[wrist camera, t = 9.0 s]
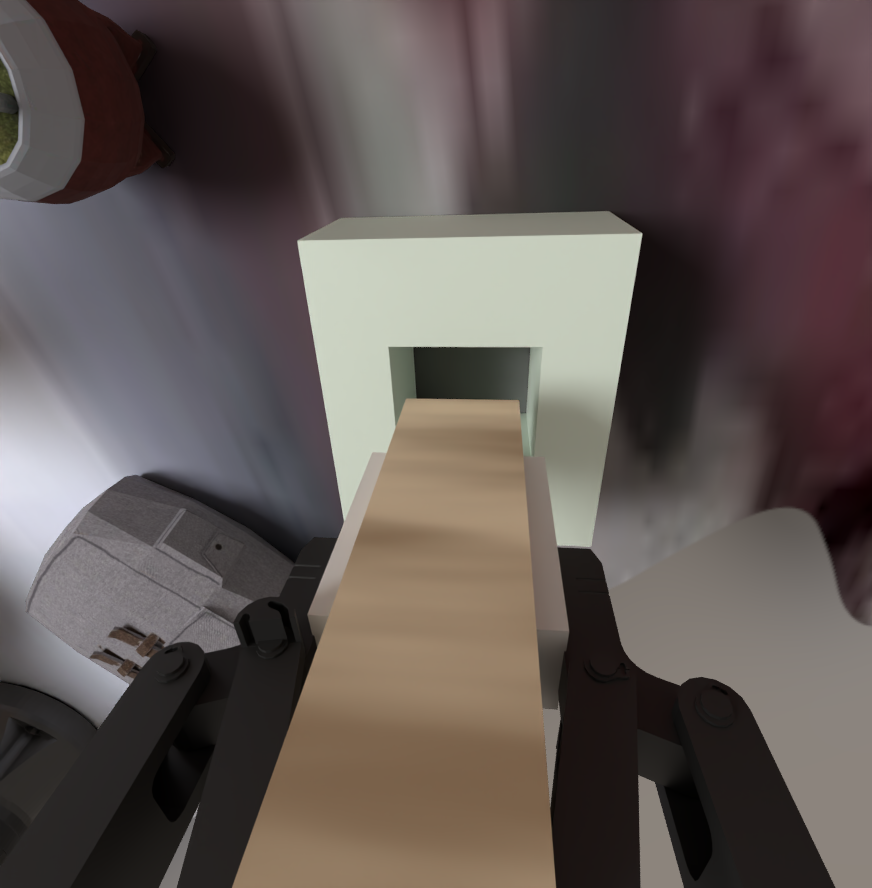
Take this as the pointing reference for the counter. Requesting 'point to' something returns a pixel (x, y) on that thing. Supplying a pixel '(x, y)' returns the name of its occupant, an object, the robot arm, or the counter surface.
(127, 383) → the counter surface
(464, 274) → the socket block
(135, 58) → the mate gourd
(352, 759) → the peg
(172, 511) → the small grey backpack
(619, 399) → the counter surface
